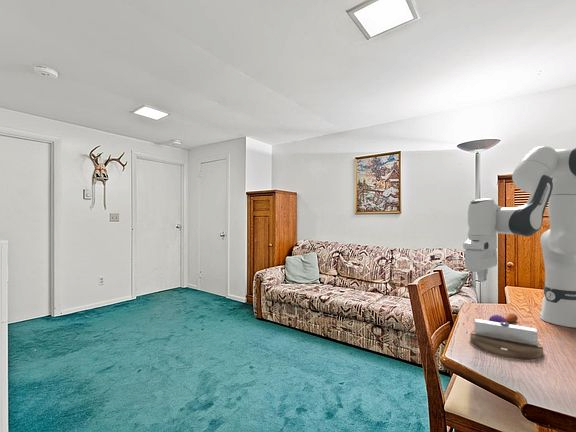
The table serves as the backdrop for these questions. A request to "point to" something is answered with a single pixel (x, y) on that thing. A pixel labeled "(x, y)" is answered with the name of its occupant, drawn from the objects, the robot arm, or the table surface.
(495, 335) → the bar
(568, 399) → the table surface
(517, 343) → the lock plate
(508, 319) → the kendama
